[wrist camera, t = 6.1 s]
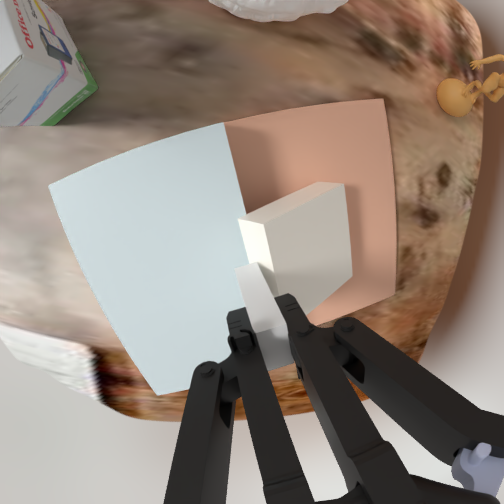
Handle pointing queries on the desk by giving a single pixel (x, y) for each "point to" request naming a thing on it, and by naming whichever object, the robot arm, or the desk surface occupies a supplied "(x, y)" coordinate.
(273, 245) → the coaster
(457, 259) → the desk surface
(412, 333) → the desk surface
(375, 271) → the mat
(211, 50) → the desk surface
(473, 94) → the figurine
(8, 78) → the ink box
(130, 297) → the plate
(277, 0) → the white tied bag
